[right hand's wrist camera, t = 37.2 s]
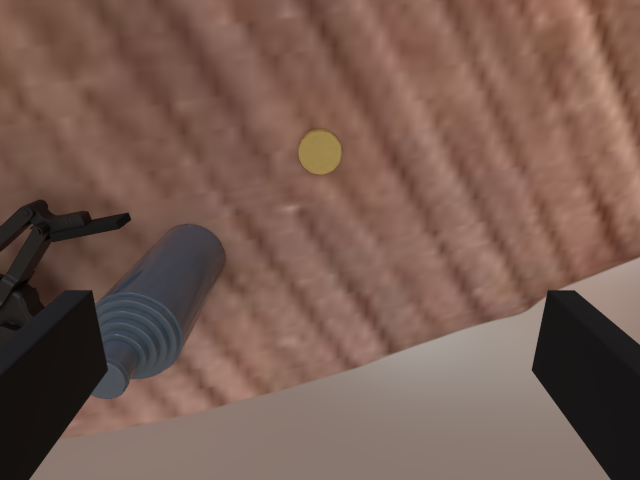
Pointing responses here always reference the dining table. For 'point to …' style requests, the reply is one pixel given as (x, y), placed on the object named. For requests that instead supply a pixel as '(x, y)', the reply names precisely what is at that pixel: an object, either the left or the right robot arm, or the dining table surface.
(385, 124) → the dining table surface
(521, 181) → the dining table surface
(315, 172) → the cap
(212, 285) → the bottle
